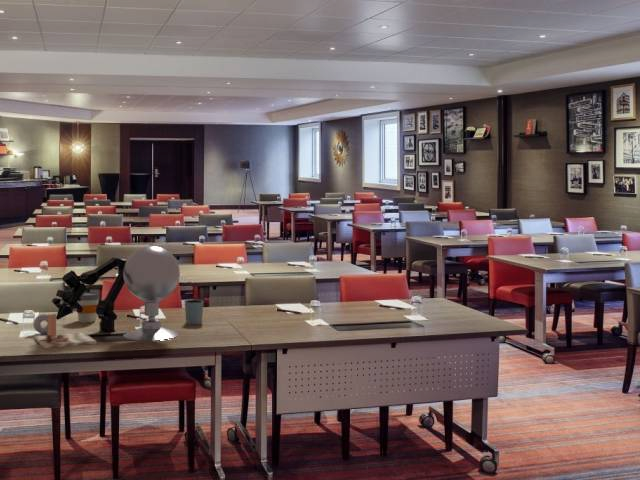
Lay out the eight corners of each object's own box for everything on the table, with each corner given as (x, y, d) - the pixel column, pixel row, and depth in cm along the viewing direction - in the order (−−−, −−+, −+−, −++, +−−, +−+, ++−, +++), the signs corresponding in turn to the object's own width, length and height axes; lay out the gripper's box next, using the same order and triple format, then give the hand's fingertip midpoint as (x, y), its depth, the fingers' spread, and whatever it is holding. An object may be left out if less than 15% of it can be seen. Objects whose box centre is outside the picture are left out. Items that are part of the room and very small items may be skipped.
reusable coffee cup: (95, 323, 450) (95, 295, 449) (72, 322, 451) (72, 295, 449) (102, 319, 463) (102, 292, 461) (79, 318, 463) (79, 291, 462)
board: (83, 334, 422) (83, 326, 422) (96, 343, 404) (96, 334, 403) (34, 338, 410) (34, 330, 410) (44, 348, 391) (44, 339, 391)
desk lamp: (124, 341, 408) (124, 249, 404) (122, 330, 435) (122, 243, 431) (182, 339, 416) (182, 248, 411) (176, 328, 442) (176, 243, 438)
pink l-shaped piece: (68, 339, 403) (68, 316, 402) (58, 341, 399) (58, 317, 398) (54, 336, 410) (53, 312, 409) (44, 337, 406) (43, 314, 405)
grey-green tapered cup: (205, 321, 463) (205, 299, 462) (200, 325, 453) (201, 302, 452) (187, 320, 464) (187, 299, 463) (182, 324, 454) (182, 302, 453)
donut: (33, 334, 419) (33, 315, 418) (33, 333, 422) (33, 313, 421) (54, 333, 423) (54, 313, 422) (54, 332, 426) (53, 312, 425)
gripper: (54, 281, 416) (35, 306, 409) (78, 285, 405) (58, 311, 397) (68, 295, 423) (49, 320, 415) (91, 300, 412) (72, 325, 404)
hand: (56, 319), depth 408 cm, fingers closed
